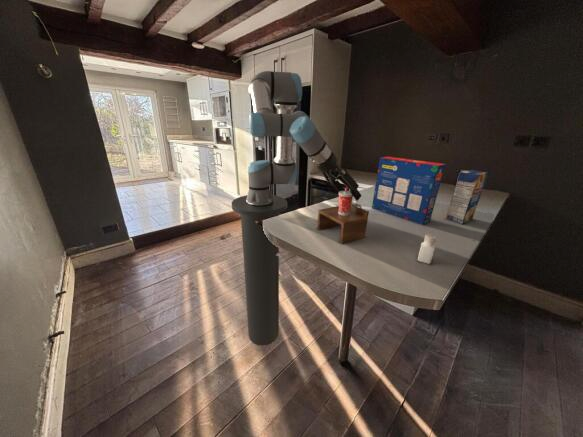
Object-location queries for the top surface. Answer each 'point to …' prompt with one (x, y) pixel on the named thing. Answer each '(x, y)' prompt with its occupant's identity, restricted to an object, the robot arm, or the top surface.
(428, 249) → the pepper shaker
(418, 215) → the blue flat box
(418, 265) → the top surface
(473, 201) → the juice carton
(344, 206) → the beverage cup
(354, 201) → the cup
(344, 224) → the shelf
